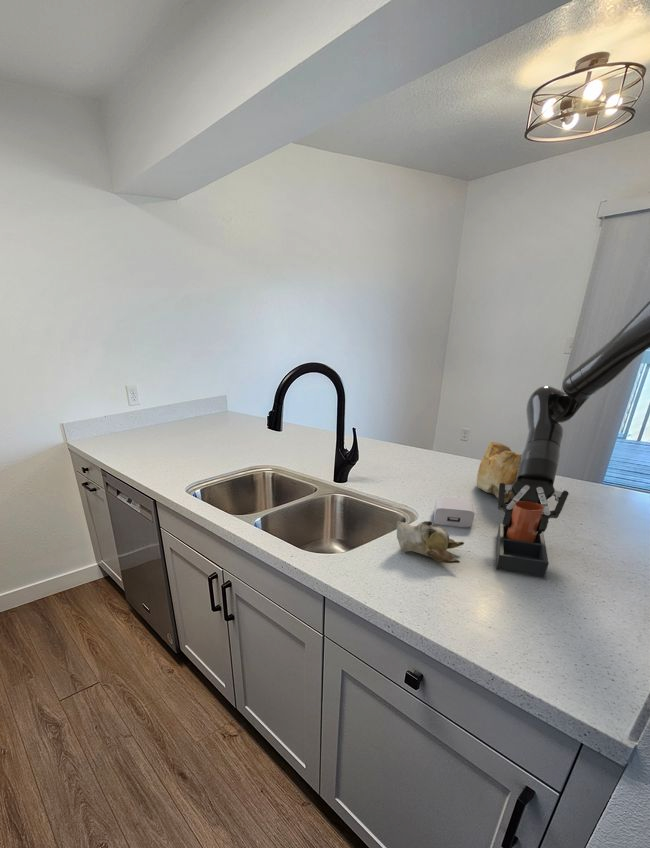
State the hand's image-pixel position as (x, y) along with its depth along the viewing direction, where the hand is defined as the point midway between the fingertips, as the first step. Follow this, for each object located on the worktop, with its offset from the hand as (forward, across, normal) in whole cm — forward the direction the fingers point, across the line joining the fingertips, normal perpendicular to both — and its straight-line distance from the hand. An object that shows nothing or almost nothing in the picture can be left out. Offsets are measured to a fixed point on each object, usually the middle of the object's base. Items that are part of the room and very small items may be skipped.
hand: (523, 529), depth 99 cm
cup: (+2, 0, +5) cm, 5 cm away
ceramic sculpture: (+12, -18, -4) cm, 22 cm away
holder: (+6, 0, +2) cm, 6 cm away
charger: (-6, -17, +15) cm, 23 cm away
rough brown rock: (-22, -4, +30) cm, 37 cm away
